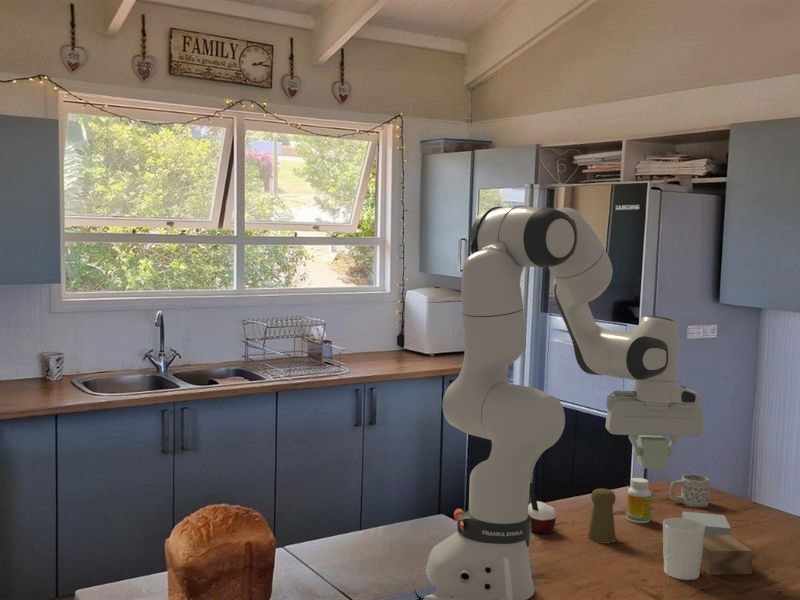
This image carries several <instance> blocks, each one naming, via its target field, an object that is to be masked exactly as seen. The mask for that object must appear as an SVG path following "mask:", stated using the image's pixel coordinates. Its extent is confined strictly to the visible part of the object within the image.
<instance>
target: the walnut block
mask: <svg viewBox="0 0 800 600" xmlns="http://www.w3.org/2000/svg"><path fill="white" fill-rule="evenodd" d="M753 553H754V552H753V549H751V548H749V547H748V546H747V545H745V544H743V542H741V541H740V540H738V539H736V538H735V537H734V536H732V535H704V543H703V553H702V559H701V564H700V570H702V569H703V570H704V571H703V570H702V571H703V572H704V573H706V574H707V575H708V576H717V575H719V576H721V575H725V576H727V575H728V576H729V575H752V574H753V572H752V570H753V569H752V568H753Z"/></svg>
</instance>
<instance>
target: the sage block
mask: <svg viewBox="0 0 800 600" xmlns="http://www.w3.org/2000/svg"><path fill="white" fill-rule="evenodd" d="M669 442H670V441H669V440H668V439H667V438H665V436H650V435H638V440H637V445H638V446H640V447H642V448H643V449H642V456H636V463H637V464H638V465H640V466H641V467H642V468H643V469H658V470H660V469H661V470H662V469H663V470H668V463H669V457H668V449H669Z"/></svg>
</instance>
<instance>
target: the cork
mask: <svg viewBox="0 0 800 600" xmlns="http://www.w3.org/2000/svg"><path fill="white" fill-rule="evenodd" d="M590 496H591V498H590V499H591V502H592V503H593V506H592V510H591V511H592V512H591V517H590V522H589V530H588V533H587V534H588V535H587V538H588V539H589V540H590V539H591V540H593V541H592V542H594V541H597V542H596V543H598V542H612V541H614V540H615V539H616V537H617V536H616V529H615V528H616V527H615V518H614V508H613V507H614V504H615V502H616V494H615V492H614V491H613V490H612V489H608V488H596V489H593V490H592V493H591V495H590ZM591 540H590V541H591ZM616 540H617V539H616Z"/></svg>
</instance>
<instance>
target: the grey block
mask: <svg viewBox="0 0 800 600" xmlns="http://www.w3.org/2000/svg"><path fill="white" fill-rule="evenodd" d="M681 512H682V513H681V518H684V519H690V520H694V521H697V522H699V523H701V524H703V525H704V526H705V532H704V535H731V534H732V533H731V532H732V528H731V526H730V524H729V522H728V520H727V518H726V516H725V515H724V514H713V513H704V512H694V511H693V512H691V511H681ZM731 536H732V535H731Z"/></svg>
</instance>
